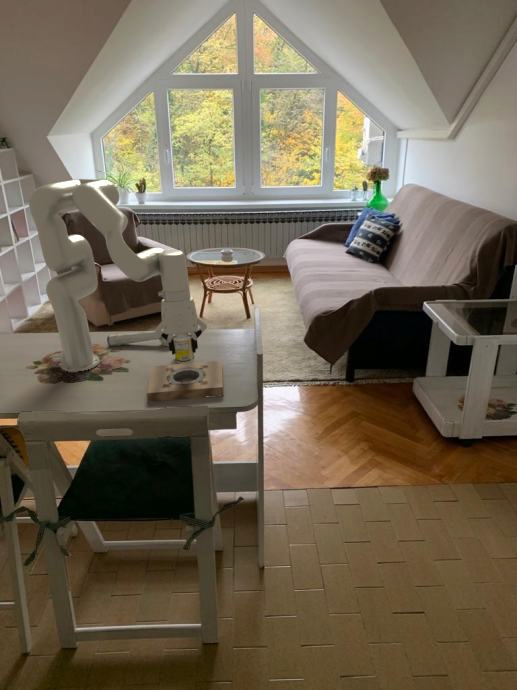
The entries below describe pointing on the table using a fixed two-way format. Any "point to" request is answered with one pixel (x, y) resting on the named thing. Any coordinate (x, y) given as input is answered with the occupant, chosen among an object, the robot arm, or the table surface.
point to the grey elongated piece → (135, 338)
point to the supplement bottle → (183, 348)
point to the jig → (169, 388)
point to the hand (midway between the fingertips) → (184, 351)
